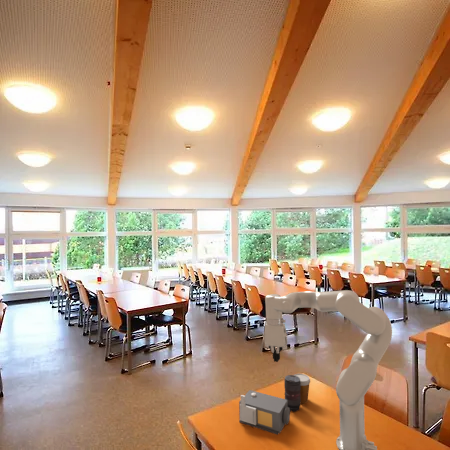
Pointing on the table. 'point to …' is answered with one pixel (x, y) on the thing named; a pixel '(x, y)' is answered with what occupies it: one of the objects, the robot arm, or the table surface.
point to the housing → (267, 411)
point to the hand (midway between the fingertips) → (276, 360)
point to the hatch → (247, 412)
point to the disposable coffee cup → (304, 387)
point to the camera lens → (292, 392)
